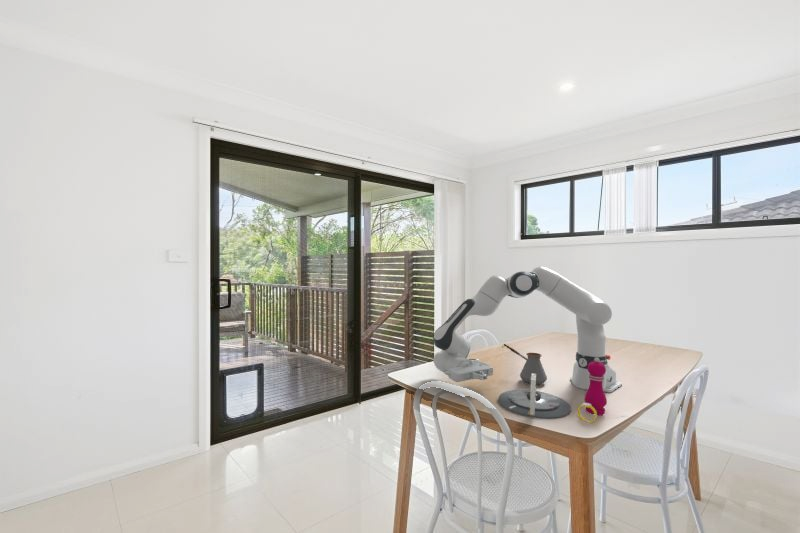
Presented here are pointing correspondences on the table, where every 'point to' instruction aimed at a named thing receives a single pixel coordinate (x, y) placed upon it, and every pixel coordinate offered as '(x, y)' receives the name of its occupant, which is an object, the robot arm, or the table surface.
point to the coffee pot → (531, 368)
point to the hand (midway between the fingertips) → (484, 377)
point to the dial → (534, 399)
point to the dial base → (560, 412)
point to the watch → (588, 407)
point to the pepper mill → (596, 387)
